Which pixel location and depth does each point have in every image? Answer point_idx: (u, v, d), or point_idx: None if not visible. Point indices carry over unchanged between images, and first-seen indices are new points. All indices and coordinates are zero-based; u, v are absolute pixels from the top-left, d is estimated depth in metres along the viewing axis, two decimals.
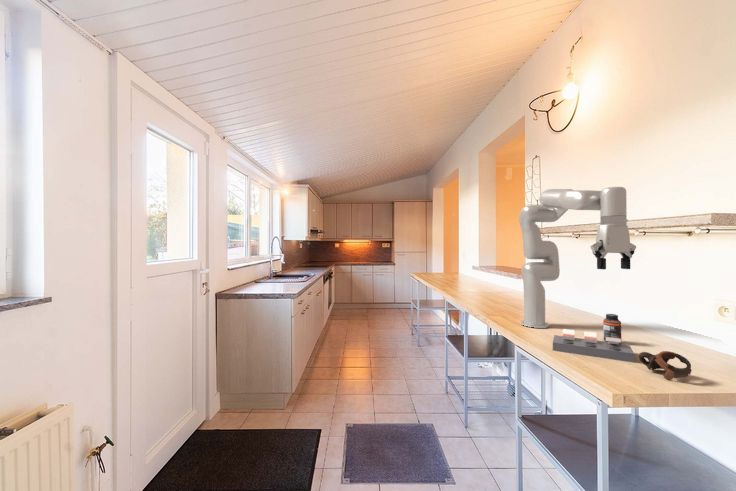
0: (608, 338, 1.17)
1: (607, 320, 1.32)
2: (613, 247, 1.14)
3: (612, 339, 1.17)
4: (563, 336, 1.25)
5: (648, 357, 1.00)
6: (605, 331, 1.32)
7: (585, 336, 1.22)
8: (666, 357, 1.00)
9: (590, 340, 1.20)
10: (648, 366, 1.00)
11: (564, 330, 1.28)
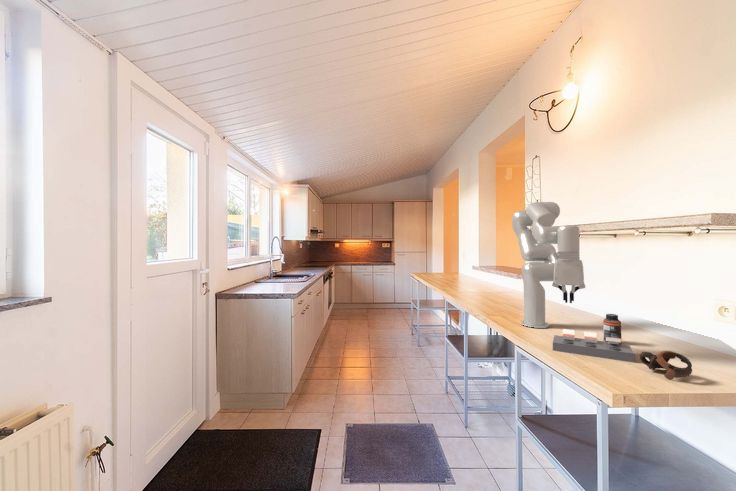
0: (608, 338, 1.17)
1: (607, 320, 1.32)
2: None
3: (612, 339, 1.17)
4: (563, 336, 1.25)
5: (649, 357, 1.00)
6: (605, 331, 1.32)
7: (585, 336, 1.22)
8: (667, 356, 1.01)
9: (590, 340, 1.20)
10: (649, 366, 1.01)
11: (564, 330, 1.28)
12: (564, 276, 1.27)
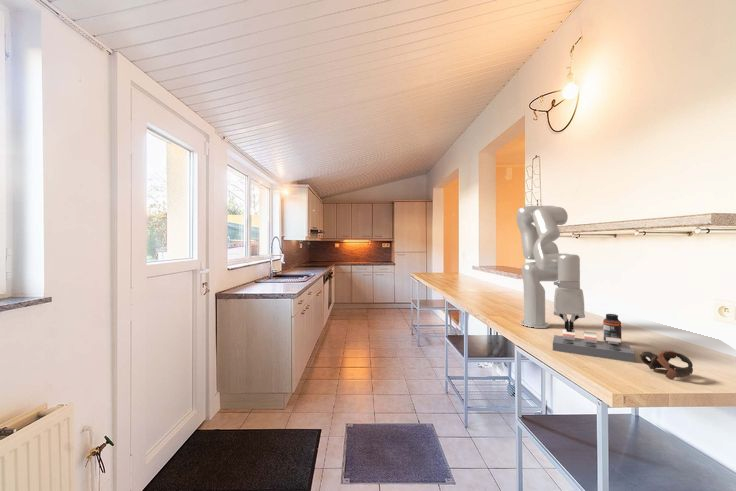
0: (608, 338, 1.17)
1: (607, 320, 1.32)
2: None
3: (612, 339, 1.17)
4: (563, 336, 1.25)
5: (650, 356, 1.00)
6: (605, 331, 1.32)
7: (585, 336, 1.22)
8: (667, 356, 1.01)
9: (590, 340, 1.20)
10: (650, 365, 1.01)
11: (564, 330, 1.29)
12: (565, 305, 1.27)
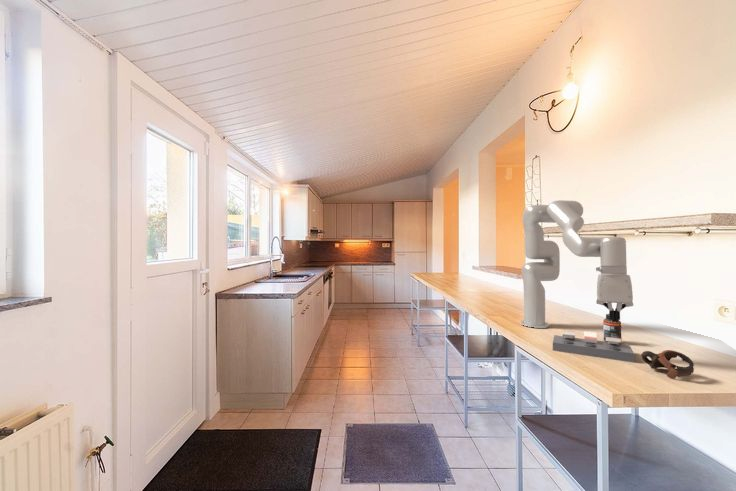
0: (608, 338, 1.17)
1: (607, 320, 1.32)
2: None
3: (612, 339, 1.17)
4: (563, 331, 1.25)
5: (651, 356, 1.01)
6: (605, 331, 1.32)
7: (585, 336, 1.22)
8: (668, 355, 1.01)
9: (590, 340, 1.20)
10: (651, 365, 1.01)
11: None
12: (610, 293, 1.15)
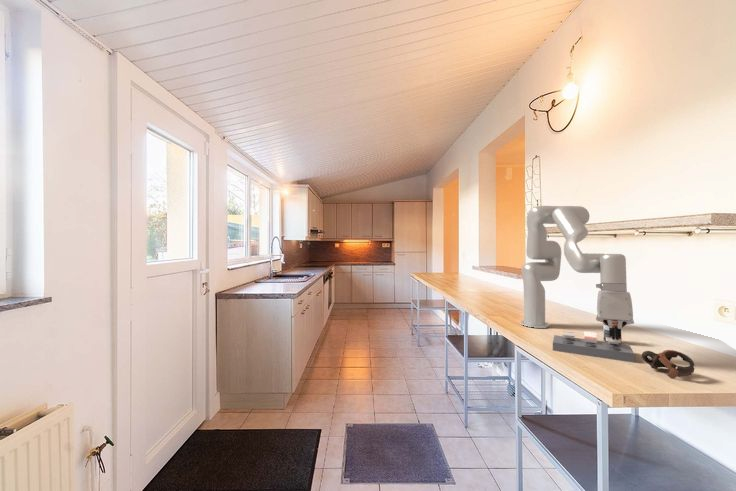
0: (608, 338, 1.17)
1: None
2: None
3: (612, 339, 1.17)
4: (563, 332, 1.25)
5: (651, 356, 1.01)
6: (605, 331, 1.32)
7: (585, 336, 1.22)
8: (669, 355, 1.02)
9: (590, 340, 1.20)
10: (651, 365, 1.02)
11: None
12: (610, 310, 1.15)
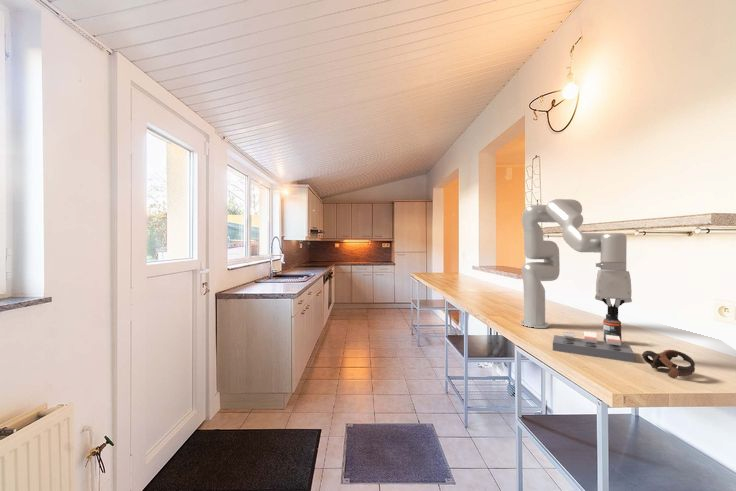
0: (608, 341, 1.17)
1: (607, 320, 1.32)
2: None
3: (612, 342, 1.17)
4: (563, 332, 1.25)
5: (652, 356, 1.01)
6: (605, 331, 1.32)
7: (585, 336, 1.22)
8: (669, 355, 1.02)
9: (590, 340, 1.20)
10: (652, 365, 1.02)
11: None
12: (609, 289, 1.16)
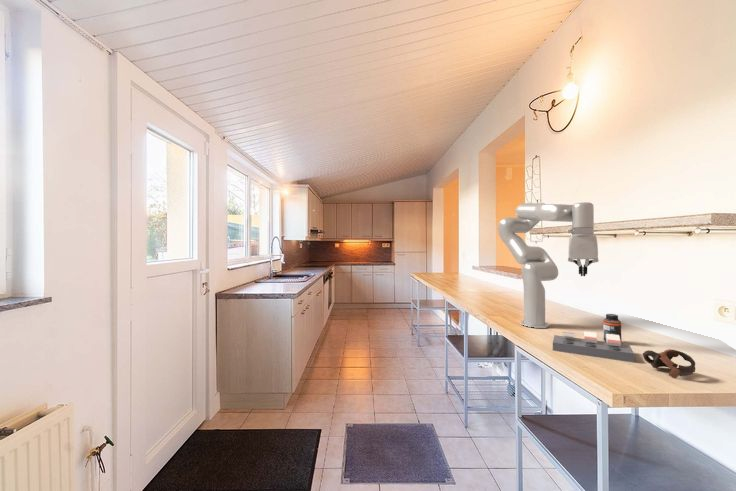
0: (608, 342, 1.17)
1: (607, 320, 1.32)
2: None
3: (612, 343, 1.17)
4: (563, 333, 1.25)
5: (653, 355, 1.01)
6: (605, 331, 1.32)
7: (585, 336, 1.22)
8: (670, 355, 1.02)
9: (590, 340, 1.20)
10: (653, 364, 1.02)
11: None
12: (579, 251, 1.33)
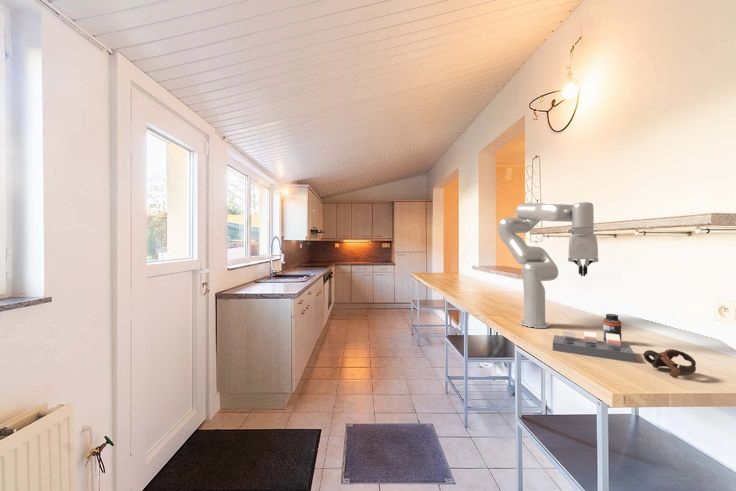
0: (608, 343, 1.17)
1: (607, 320, 1.32)
2: None
3: (612, 344, 1.17)
4: (563, 333, 1.25)
5: (653, 355, 1.02)
6: (605, 331, 1.32)
7: (585, 336, 1.22)
8: (670, 354, 1.02)
9: (590, 340, 1.20)
10: (653, 364, 1.02)
11: None
12: (579, 250, 1.33)
